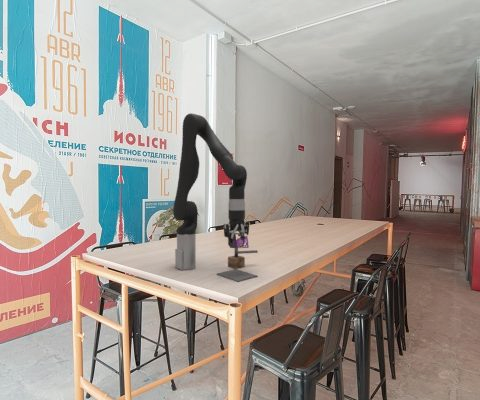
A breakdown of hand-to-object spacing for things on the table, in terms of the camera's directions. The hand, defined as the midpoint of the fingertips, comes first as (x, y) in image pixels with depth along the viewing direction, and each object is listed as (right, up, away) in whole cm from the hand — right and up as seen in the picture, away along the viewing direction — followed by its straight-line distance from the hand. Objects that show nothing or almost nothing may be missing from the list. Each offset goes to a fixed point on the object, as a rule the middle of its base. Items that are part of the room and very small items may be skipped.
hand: (236, 245), depth 147 cm
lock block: (0, -13, +16) cm, 21 cm away
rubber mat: (0, -14, +1) cm, 14 cm away
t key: (+4, -8, +17) cm, 19 cm away
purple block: (0, -1, -1) cm, 1 cm away
